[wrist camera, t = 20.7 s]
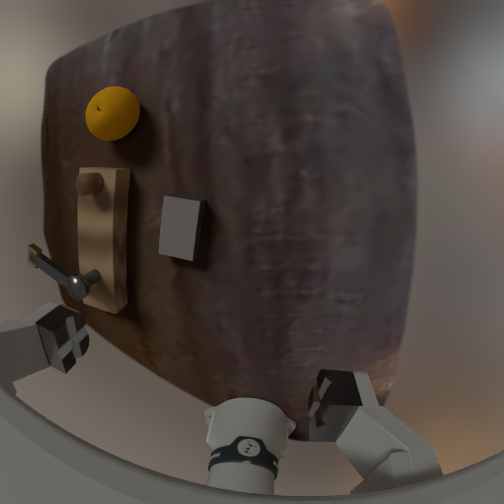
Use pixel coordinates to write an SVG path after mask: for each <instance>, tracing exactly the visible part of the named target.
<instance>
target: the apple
mask: <svg viewBox="0 0 504 504" xmlns="http://www.w3.org/2000/svg"><path fill="white" fill-rule="evenodd" d="M139 114H140V106H139V102H138V100H137V98H136V96H135V95H134V94H133V93H132V92H130V91H129V90H128V89H125V88H122V87H118V86H115V87H108V88H105V89H103V90H102V91H100V92H98V93H97V94H96V95H95V96H94V97H93V98H92V99H91V101H90V102H89V104H88V107H87V109H86V123H87V126H88V128H89V130H90V131H91V132H92V133H93V134H94V135H95V136H96V137H98V138H100V139H102V140H107V141H108V140H117V139H120V138H122V137H124V136H126V135H127V134H128V133H129V132H131V131H132V129H133V128H134V127H135V125H136V123H137V121H138V119H139Z"/></svg>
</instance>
